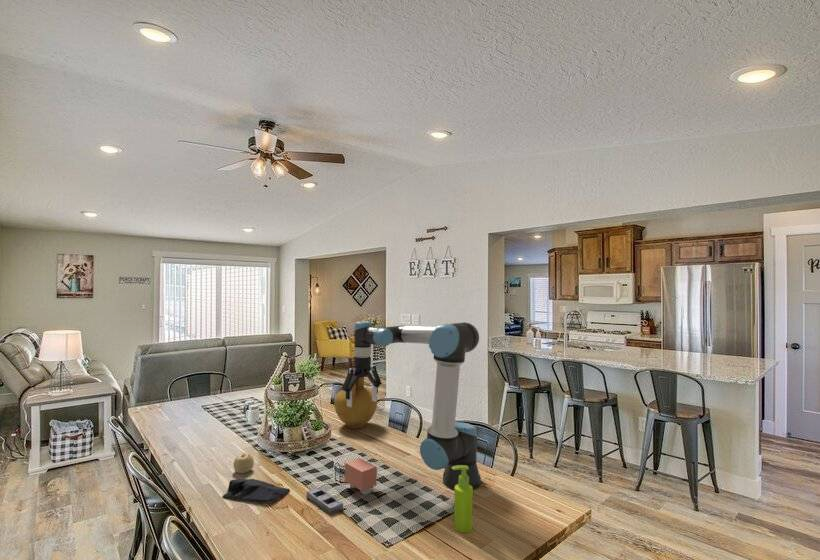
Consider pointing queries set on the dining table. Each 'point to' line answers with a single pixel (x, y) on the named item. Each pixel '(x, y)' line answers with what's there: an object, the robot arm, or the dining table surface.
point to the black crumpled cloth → (254, 491)
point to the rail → (325, 500)
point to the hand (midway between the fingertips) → (362, 403)
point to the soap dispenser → (463, 501)
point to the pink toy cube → (361, 475)
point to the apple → (243, 463)
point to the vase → (355, 405)
